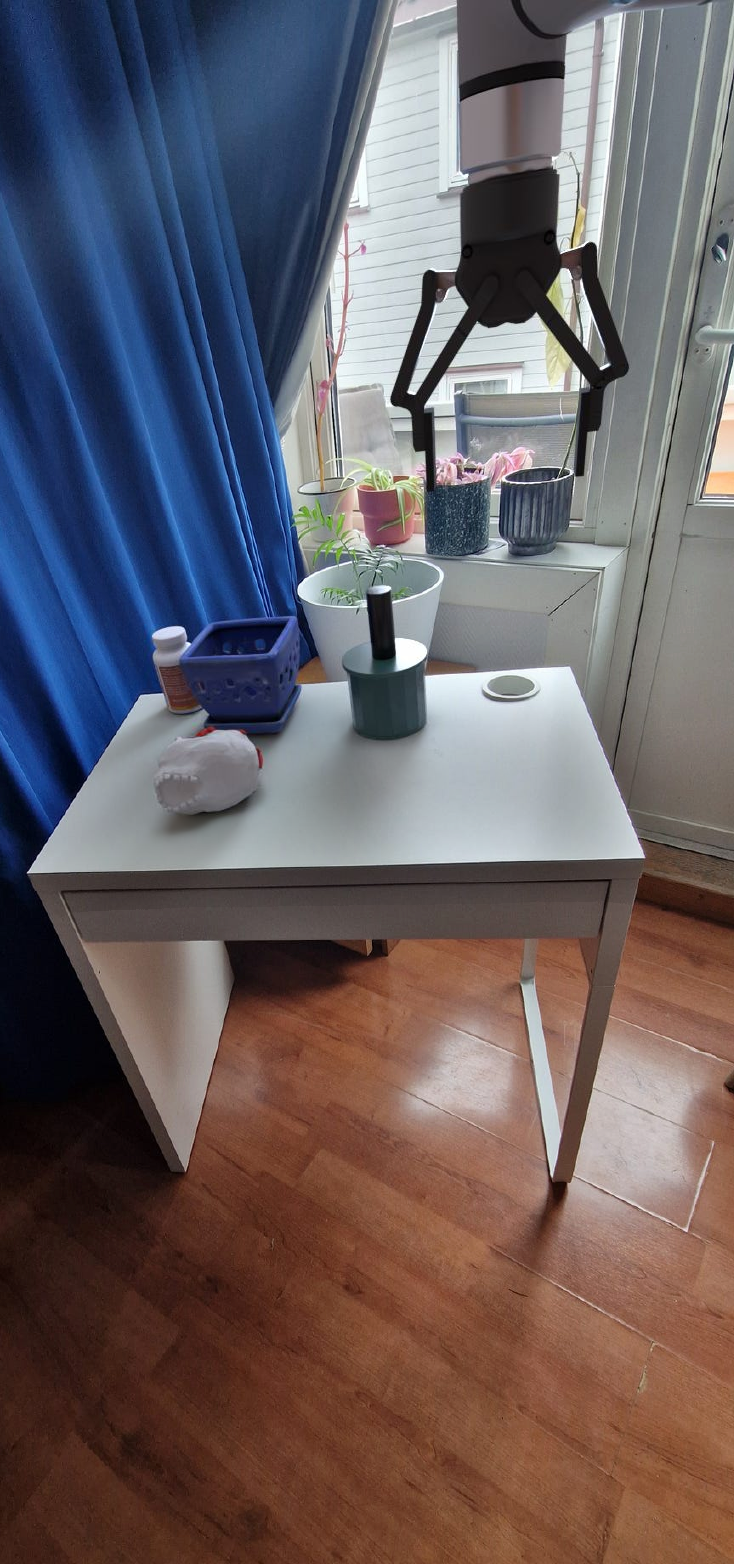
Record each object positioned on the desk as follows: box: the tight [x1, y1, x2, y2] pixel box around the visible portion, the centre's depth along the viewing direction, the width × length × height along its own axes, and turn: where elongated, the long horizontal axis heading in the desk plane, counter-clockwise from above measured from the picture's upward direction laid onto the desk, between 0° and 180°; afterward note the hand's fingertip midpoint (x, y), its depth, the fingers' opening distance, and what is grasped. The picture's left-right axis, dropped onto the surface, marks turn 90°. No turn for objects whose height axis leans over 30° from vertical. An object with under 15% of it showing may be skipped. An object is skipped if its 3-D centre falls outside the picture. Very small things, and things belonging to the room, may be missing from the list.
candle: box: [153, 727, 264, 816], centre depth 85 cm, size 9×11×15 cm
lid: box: [341, 585, 428, 679], centre depth 88 cm, size 11×11×9 cm
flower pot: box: [179, 615, 303, 734], centre depth 98 cm, size 13×13×12 cm
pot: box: [346, 662, 428, 741], centre depth 93 cm, size 10×10×8 cm
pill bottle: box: [151, 625, 203, 715], centre depth 105 cm, size 6×6×11 cm
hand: (503, 481), depth 70 cm, fingers open, 13 cm apart
